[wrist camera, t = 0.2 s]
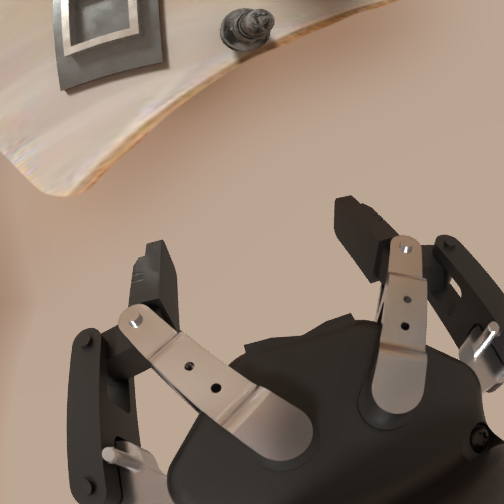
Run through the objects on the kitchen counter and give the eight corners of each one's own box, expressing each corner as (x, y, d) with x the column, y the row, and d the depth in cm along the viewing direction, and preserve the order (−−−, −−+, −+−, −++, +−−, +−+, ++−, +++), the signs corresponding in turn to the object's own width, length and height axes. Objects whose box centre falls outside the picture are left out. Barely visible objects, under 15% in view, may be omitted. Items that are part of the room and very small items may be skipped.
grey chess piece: (270, 24, 28) (306, 10, 19) (250, 59, 31) (279, 57, 21) (230, 6, 25) (250, -18, 16) (209, 42, 28) (220, 30, 19)
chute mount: (56, -19, 15) (44, -25, 12) (157, -50, 17) (154, -61, 14) (64, 90, 26) (51, 93, 23) (163, 62, 28) (160, 61, 25)
